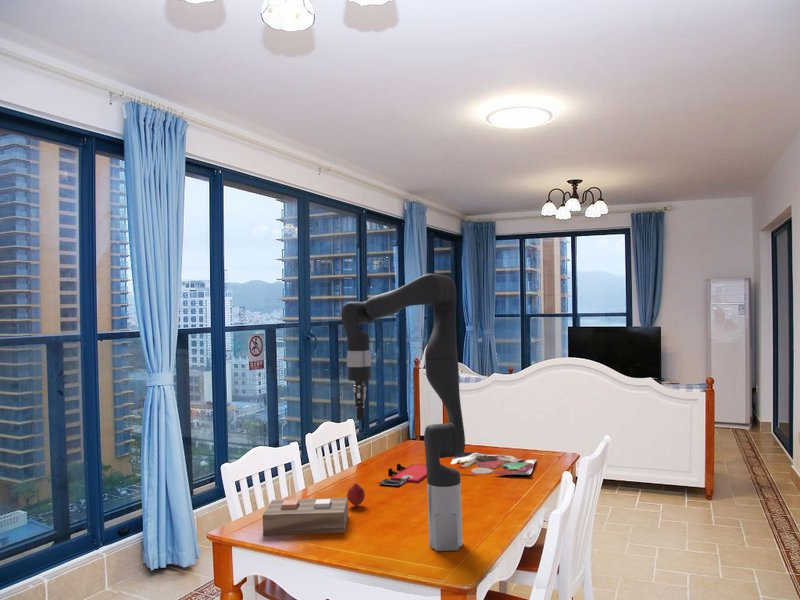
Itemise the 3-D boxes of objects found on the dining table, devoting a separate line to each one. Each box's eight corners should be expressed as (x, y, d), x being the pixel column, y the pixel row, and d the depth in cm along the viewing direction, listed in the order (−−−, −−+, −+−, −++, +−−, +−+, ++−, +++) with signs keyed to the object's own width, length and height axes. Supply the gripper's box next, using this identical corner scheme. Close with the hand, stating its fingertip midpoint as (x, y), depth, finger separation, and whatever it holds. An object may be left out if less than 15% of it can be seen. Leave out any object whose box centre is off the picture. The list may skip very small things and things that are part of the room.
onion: (356, 502, 208) (355, 479, 208) (368, 505, 205) (367, 481, 205) (344, 507, 204) (343, 483, 204) (356, 510, 200) (355, 485, 200)
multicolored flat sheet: (538, 458, 264) (538, 453, 264) (529, 480, 231) (529, 475, 231) (459, 454, 275) (459, 450, 275) (440, 475, 241) (440, 470, 242)
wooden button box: (344, 532, 180) (343, 512, 180) (263, 535, 180) (262, 514, 180) (348, 516, 194) (347, 497, 194) (272, 519, 194) (272, 500, 194)
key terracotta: (296, 517, 185) (296, 504, 185) (282, 518, 185) (281, 504, 185) (298, 512, 189) (298, 499, 189) (284, 513, 189) (284, 500, 189)
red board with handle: (373, 485, 229) (410, 489, 223) (373, 477, 229) (410, 482, 223) (404, 466, 256) (438, 470, 250) (404, 460, 256) (437, 463, 250)
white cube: (329, 516, 185) (329, 503, 185) (315, 517, 185) (314, 503, 185) (331, 511, 189) (330, 498, 190) (316, 512, 189) (316, 499, 190)
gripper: (370, 366, 187) (371, 423, 186) (371, 362, 200) (373, 415, 199) (345, 367, 186) (347, 424, 186) (348, 363, 200) (350, 416, 199)
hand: (360, 419), depth 193 cm, fingers closed
